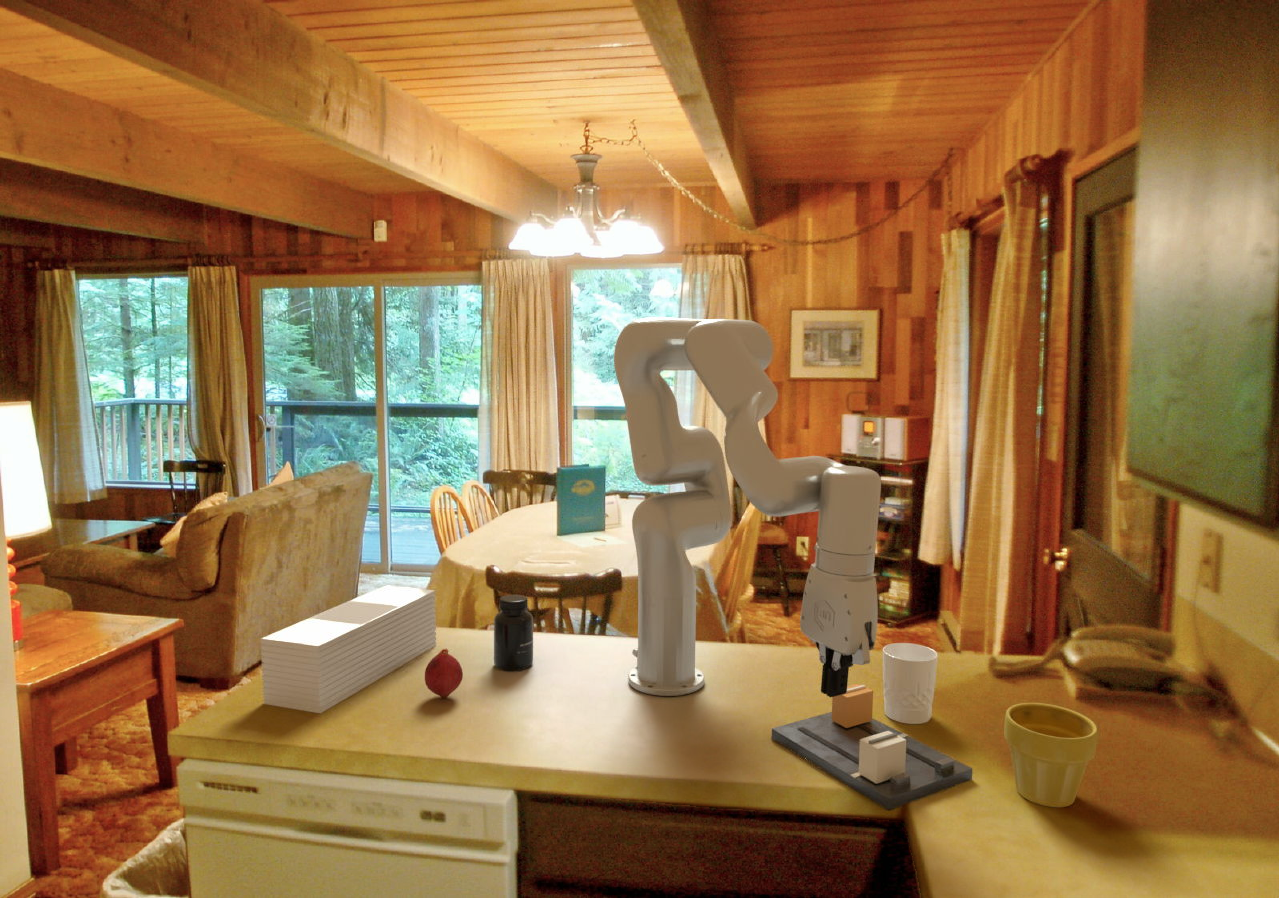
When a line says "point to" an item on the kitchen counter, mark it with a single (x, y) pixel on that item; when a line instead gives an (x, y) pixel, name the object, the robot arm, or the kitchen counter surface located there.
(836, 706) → the block
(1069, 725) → the plant pot
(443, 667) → the onion
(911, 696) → the white cup
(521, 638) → the supplement bottle
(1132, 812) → the kitchen counter surface
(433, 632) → the stack of papers
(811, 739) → the console board
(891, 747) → the fader
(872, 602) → the robot arm
